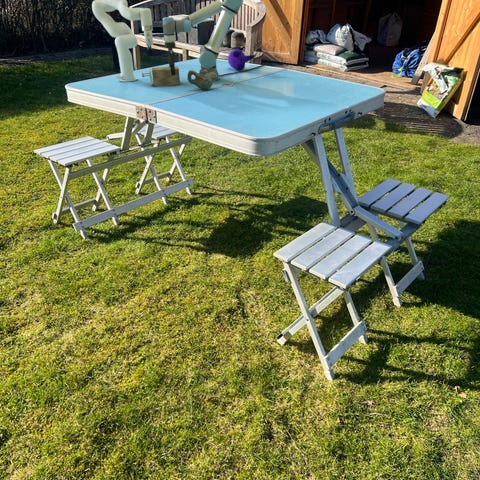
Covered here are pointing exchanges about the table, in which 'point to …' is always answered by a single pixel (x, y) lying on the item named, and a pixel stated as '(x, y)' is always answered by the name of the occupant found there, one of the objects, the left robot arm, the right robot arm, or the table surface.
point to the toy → (238, 59)
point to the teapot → (202, 78)
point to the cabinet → (165, 76)
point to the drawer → (148, 75)
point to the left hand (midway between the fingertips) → (150, 54)
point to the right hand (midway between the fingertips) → (172, 73)
